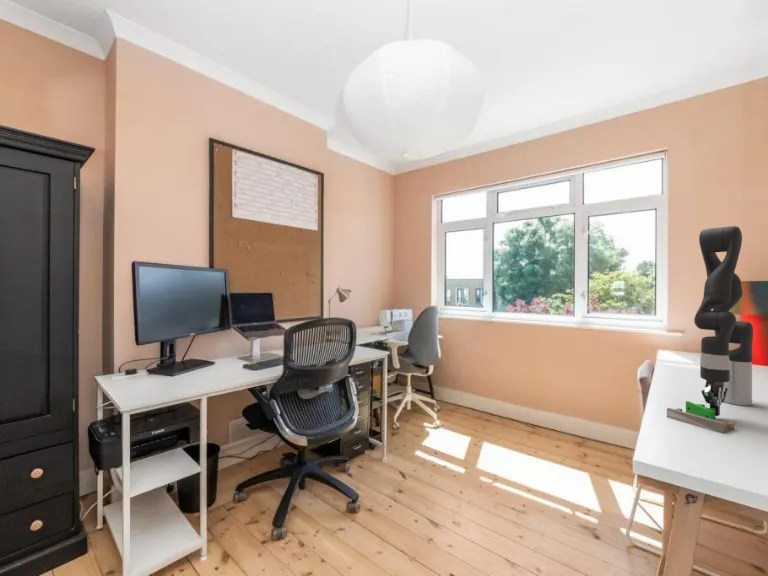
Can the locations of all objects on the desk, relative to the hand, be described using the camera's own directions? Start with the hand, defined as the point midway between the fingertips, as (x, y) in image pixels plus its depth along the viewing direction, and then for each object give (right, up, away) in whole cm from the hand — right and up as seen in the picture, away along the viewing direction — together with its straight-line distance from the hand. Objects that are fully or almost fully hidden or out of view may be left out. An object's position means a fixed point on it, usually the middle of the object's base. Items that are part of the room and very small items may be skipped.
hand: (714, 415), depth 120 cm
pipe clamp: (-4, -1, 0) cm, 5 cm away
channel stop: (-9, -1, -4) cm, 10 cm away
